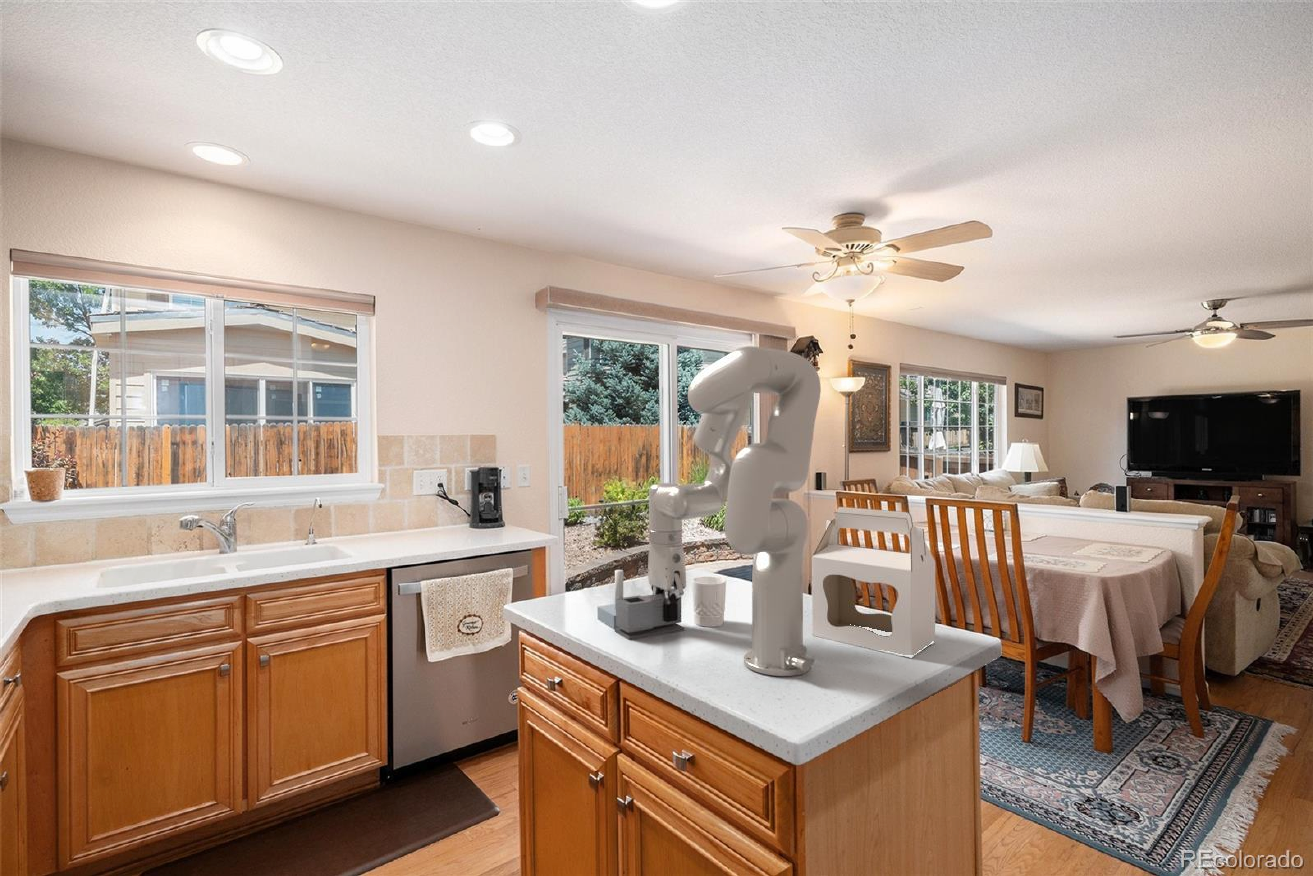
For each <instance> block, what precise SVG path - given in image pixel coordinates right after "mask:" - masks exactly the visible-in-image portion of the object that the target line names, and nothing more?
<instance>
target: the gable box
mask: <svg viewBox="0 0 1313 876" xmlns="http://www.w3.org/2000/svg"><path fill="white" fill-rule="evenodd" d="M825 521H826V523H825V531H824V533H823V536H822V537H821V539H820V541H819V543H818V545H817V547H816V549H815V551H814V553H813V555H812V556H811V582H812V583H811V594H812V595H811V602H812V603H811V634H812V636H813V637H818V638H821V639H826V640H831V641H834V642H838V643H842V642H843V643H842V644H846V643H847V644H846V645H850V644H852V645H851V646H855V645H856V647H859V646H864V647H868V648H872V649H876V650H884V651H890V652H894V653H898V654H903V655H914V654H916V653H917V652H918V651H919V650H922V649H923V648H924V647H925V646H928V645H929V644H930V643H931V642H932V641H935V642H936V560H935V558H934V557H933V554H932V553H931V551H930V548H929V547H928V545H927V543H926V541H925V540H926V539H925V529H924V528H918V527H916V526H914V524H913V518H912V515H911V513H909V511H899V510H898V511H897V510H884V509H876V508H875V509H873V508H859V507H851V506H850V507H848V506H839V507H838V508H837V509H836V512H834V519H826V520H825ZM841 528H842V529H851V530H852V529H853V530H862V531H868V532H869V531H870V532H882V533H889V534H890V533H891V534H900V535H902V536H904V535H905V536H907V538H908V541H909V552H904V551H896V550H888V549H880V548H872V547H871V548H870V547H865V546H864V547H863V546H857V545H847V544H841V541H840V540H841V539H840V538H841V536H840V529H841ZM853 580H856V581H858V582H859V581H860V582H863V583H867V584H868V583H869V584H870V583H872V584H873V583H874V584H876V583H877V584H885V585H889V586H891V587H893V588H894V589H895V590H896V592H897V599H896V603H895V605H894V607H893V609H892V612H891V614H886V613H864V612H860V611H858V609H857V607H856V599H857V591H856V587H855V585H854V582H853ZM850 624H851V625H850ZM854 625H855V626H854ZM859 626H861V627H859ZM862 627H869V628H872V629H877V630H881V631H885V632H892V634H891V635H890V636H882V635H878V634H876V633H874V632H873V631H870V630H867V629H865V628H862ZM876 650H875V651H876Z"/></svg>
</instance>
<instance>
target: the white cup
mask: <svg viewBox="0 0 1313 876" xmlns="http://www.w3.org/2000/svg"><path fill="white" fill-rule="evenodd" d="M691 583H692V602H693V603H692V604H693V612H694V613H693V617H694V619H693V620H694V623H695V625H697V626H700V627H706V628H714V627H715V628H716V627H720V626H722V625H723V624H724V622H725V609H726V607H725V606H726V596H727V595H726V592H727V590H726V589H727V580H726V579H725V578H722V577H719V576H718V577H717V576H698V577H695V578H693V579H692V580H691Z"/></svg>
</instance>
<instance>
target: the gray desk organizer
mask: <svg viewBox="0 0 1313 876" xmlns="http://www.w3.org/2000/svg"><path fill="white" fill-rule="evenodd" d="M671 594H673V592H670V596H671ZM664 604H666V599H665V593H662V594H655V595H653V594H649V595H648V594H647V595H640V594H639V595H634V596H633V595H631V596H627V597H625V596H623V598H617V599H616V626H617V627H619V628H621V629H623V630H624V631H626V632H628V633H630V632H636V631H642V630H648V629H653V627H656V626H662V625H668V624H674V623H676V624H679V623H682V596H681V597H680V598H679V603H678V619H677V620H676V621H671V622H665V621H664Z"/></svg>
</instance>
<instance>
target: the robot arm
mask: <svg viewBox="0 0 1313 876" xmlns="http://www.w3.org/2000/svg"><path fill="white" fill-rule="evenodd" d="M821 391H822V390H821V380H820V376H819V373H818V371H817V370H816V368H815V366H814V365H813V363H811V362H810V361H809V360H808V359H806V358H805V357H803V355H799V354H797V353H794V352H792V351H788V350H784V349H783V350H781V349H776V348H768V347H767V348H766V347H761V346H753V345H752V346H751V345H750V346H749V345H747V346H742V347H739V348H737V349H735V350H733V351H731V352H729V353H728V354H726V355H725V356H723V357H722V358H720V359H718V360H716V361H715V362H713V363H711V364H710V365H708V366H706V367H705V368H704V369H702V370H701V371H699V372H697V374H696V375H695V376H694V378H692V380H691V382H690V384H689V386H688V390H687V400H688V401H687V402H688V404H689V406H690V407H691V409H692V410H693V411H695V412H696V413H700V414H701V416H700V418H699V421H698V424H697V426H696V429H695V431H694V434H693V437H692V439H693V443H694V444H695V446H696V447H697V448H699V450H701V451H702V452H703V453H706V454H707V455H709V459H710V464H709V465H710V466H709V468H708V469H709V470H708V473H707V474H706V477H705V479H704V481H703V482H701V483H700V482H698V483H689V484H678V483H672V482H659V483H653V484H652V485H650V487H649V489H648V545H649V549H648V557H647V558H648V559H647V580H648V583H649V586H650V588H651V591H652V595H655V594H662V593H665V599H666V604H664V621H665V622H671V621H676V620H677V619H678V603H679V598H680V597H681V598H682V596H683V595H684V593H685V592H684V591H685V590H684V589H686V587H687V573H686V572H687V571H686V569H687V568H686V560H685V559H686V557H685V551H684V546H683V520H690V519H691V520H692V519H697V518H705V517H711V516H712V517H713V516H715V515H717V514H718V513H719V512H720V511H721V509H723V507H724V506H725V510H724V511H725V512H724V521H723V526H724V529H723V530H724V534H725V538H726V542H727V543H728V544H729V546H730V547H731V548H732V549H733V551H735V552H737V553H739V554H741V555H747V556H748V555H750V556H751V555H755V558H754V561H753V566H752V574H751V575H752V576H751V578H752V582H751V584H752V585H751V589H752V590H751V591H752V592H751V607H752V608H751V613H752V614H751V650H750V651H748V652H746V653H745V654H744V655H743V663H744V665H745V666H746V667H747V669H750V670H751V671H753V672H755V673H759V674H763V675H767V676H772V677H773V676H776V677H792V676H794V677H795V676H799V675H803V674H805V673H807V672H809V671H810V670H811V668H812V666H813V665H814V664H815V662H816V661H815V658H814V657H812V656H810V655H807V645H806V644H805V645H804V593H803V592H804V563H805V562H804V560H805V552H806V545H807V539H808V535H809V521H808V517H807V514H806V512H805V510H804V509H803V507H802V506H801V505H800V504H799V503H797V502H796V501H793V500H792V499H789V498H778V497H777V498H774V495H780V494H781V495H783V494H789V493H793V492H797V491H799V490H800V489H802V487H804V485H806V482H807V479H808V475H809V470H810V462H811V455H812V448H813V441H814V432H815V430H814V429H815V423H816V419H817V413H818V409H819V404H820V398H821ZM754 394H765V395H766V394H768V395H770V394H771V395H776V396H777V397H778V399H777V401H776V403H775V404H774V406H773V408H772V410H771V412H770V414H769V418H768V421H767V430H766V436H765V440H764V442H756V443H755V442H754V443H751V444H747V445H746V446H744V447H742V448H741V449H740V450H739V451H738V452H737V454H736V455H735V457H734V459H733V455H732V450H733V447H734V445H735V443H736V440H737V438H738V435H739V433H740V431H741V428H742V426H743V423H744V421H745V418H746V416H747V414H748V411H749V409H750V406H751V404H752V401H753V398H754ZM672 587H673V588H672ZM670 592H673V594H671V596H670Z"/></svg>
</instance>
